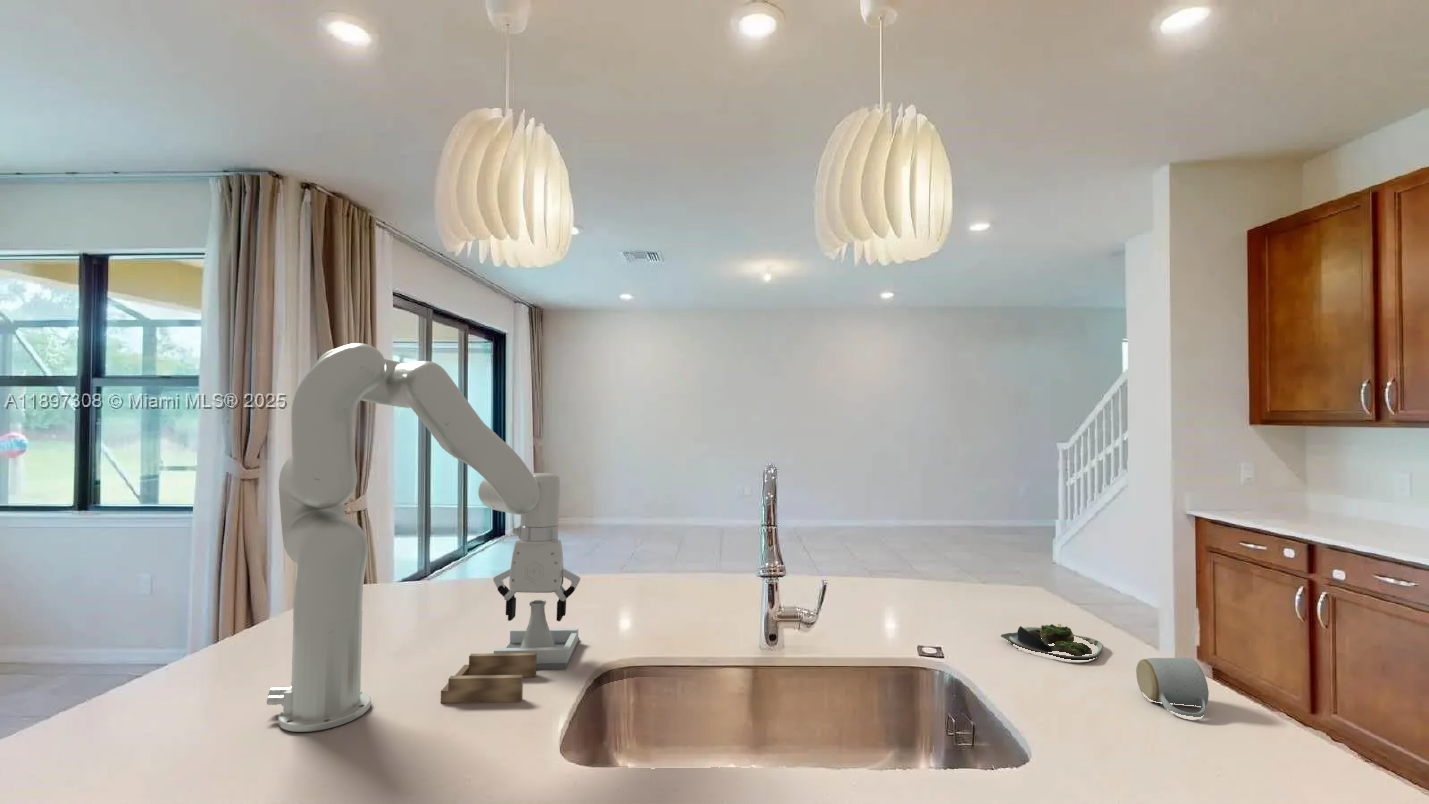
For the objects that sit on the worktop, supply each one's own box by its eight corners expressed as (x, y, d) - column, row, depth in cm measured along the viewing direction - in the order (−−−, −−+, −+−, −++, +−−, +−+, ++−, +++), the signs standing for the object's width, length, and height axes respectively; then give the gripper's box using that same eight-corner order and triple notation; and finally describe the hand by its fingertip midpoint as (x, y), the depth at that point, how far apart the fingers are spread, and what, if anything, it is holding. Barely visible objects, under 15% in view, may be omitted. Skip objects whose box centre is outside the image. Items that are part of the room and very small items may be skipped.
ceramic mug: (1133, 692, 110) (1132, 648, 111) (1184, 695, 109) (1184, 651, 109) (1165, 721, 100) (1164, 672, 100) (1222, 725, 99) (1222, 676, 99)
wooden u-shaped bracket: (440, 703, 104) (441, 678, 104) (464, 675, 116) (464, 653, 116) (520, 701, 105) (521, 677, 105) (536, 674, 116) (536, 652, 116)
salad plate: (1026, 626, 147) (1026, 607, 147) (1114, 646, 134) (1113, 624, 134) (994, 647, 133) (994, 625, 133) (1088, 671, 121) (1088, 646, 121)
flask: (544, 659, 122) (545, 608, 122) (511, 656, 124) (512, 605, 124) (561, 646, 129) (562, 598, 129) (529, 644, 131) (530, 595, 131)
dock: (491, 670, 118) (491, 653, 118) (513, 640, 134) (513, 626, 134) (565, 669, 119) (565, 652, 119) (579, 640, 135) (579, 625, 135)
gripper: (490, 536, 123) (486, 624, 122) (578, 537, 124) (575, 625, 123) (501, 530, 131) (497, 613, 130) (584, 531, 131) (581, 614, 130)
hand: (535, 619), depth 126 cm, fingers open, 9 cm apart
